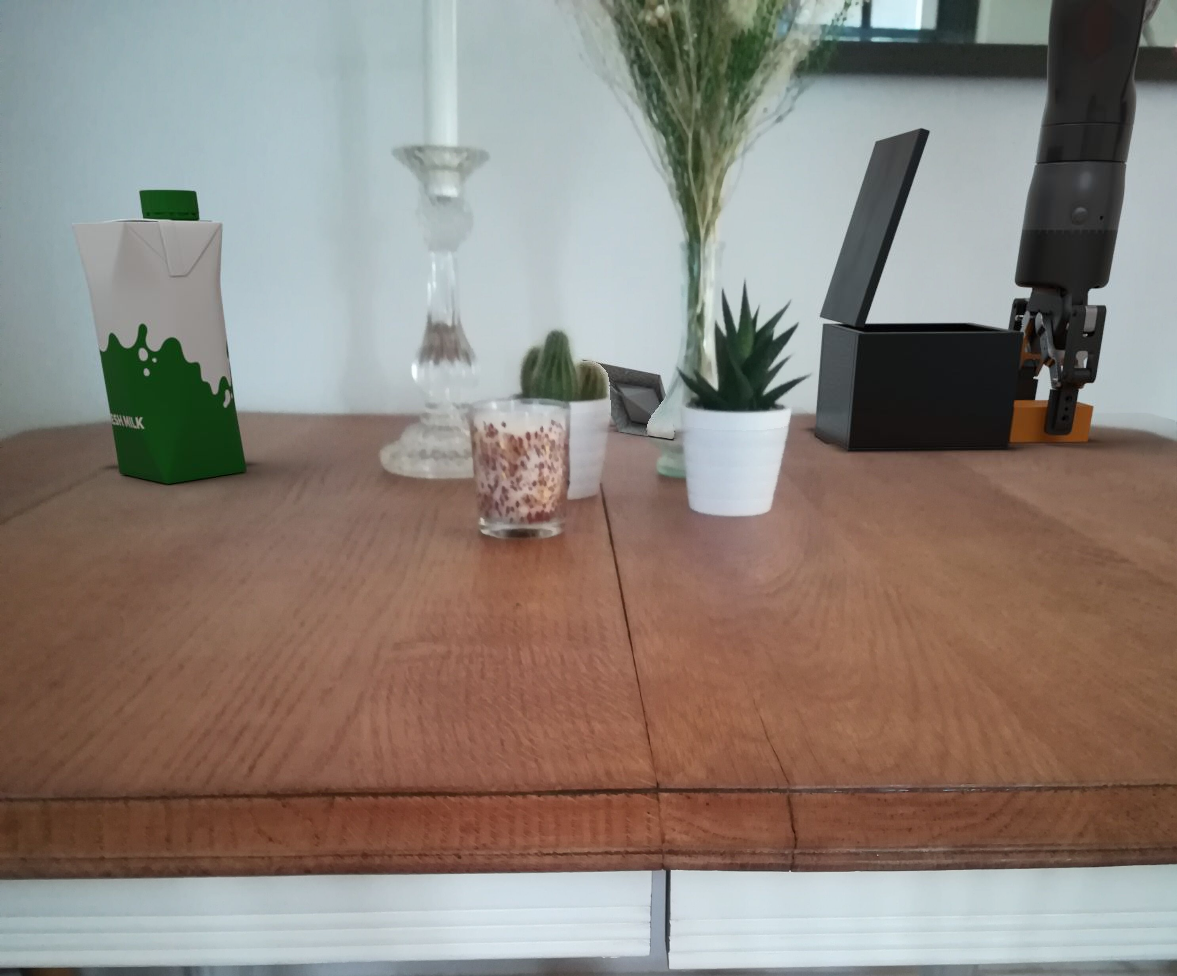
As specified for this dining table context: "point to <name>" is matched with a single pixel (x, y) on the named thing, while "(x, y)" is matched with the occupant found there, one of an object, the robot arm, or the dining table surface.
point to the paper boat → (633, 397)
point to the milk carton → (163, 339)
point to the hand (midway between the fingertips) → (1036, 427)
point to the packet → (1032, 419)
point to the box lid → (873, 227)
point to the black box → (917, 386)
